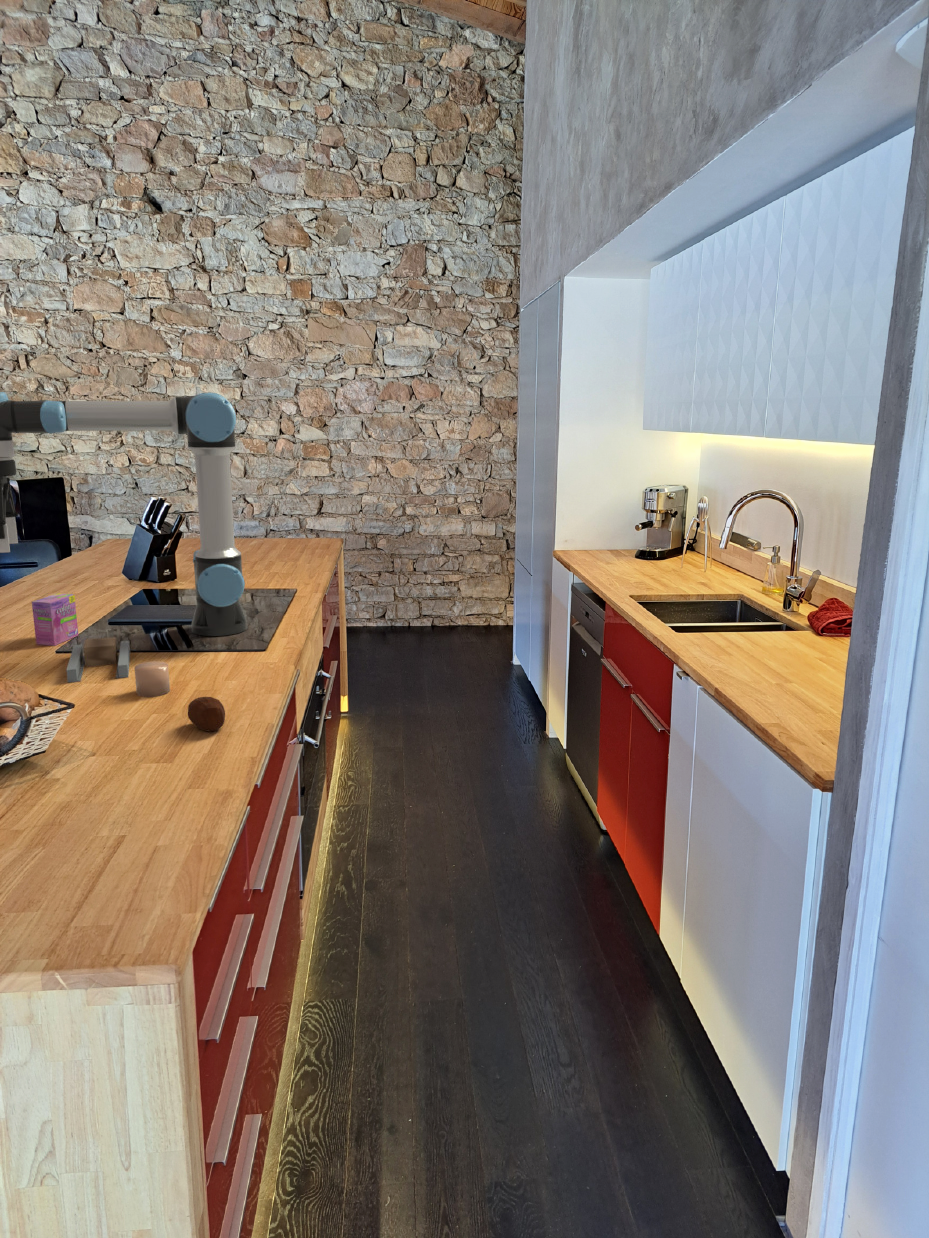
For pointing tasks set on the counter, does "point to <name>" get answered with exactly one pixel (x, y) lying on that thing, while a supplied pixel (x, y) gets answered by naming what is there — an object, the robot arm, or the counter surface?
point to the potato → (206, 713)
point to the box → (55, 619)
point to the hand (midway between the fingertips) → (7, 547)
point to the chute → (77, 665)
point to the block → (100, 651)
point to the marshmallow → (152, 679)
